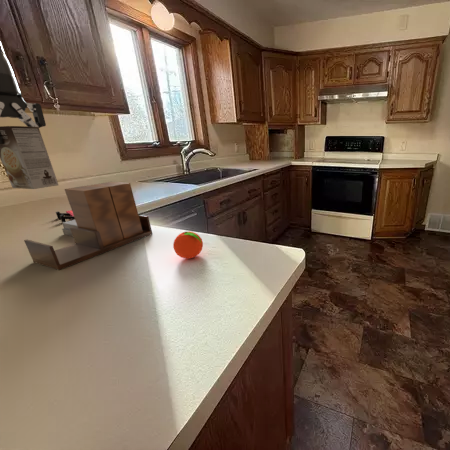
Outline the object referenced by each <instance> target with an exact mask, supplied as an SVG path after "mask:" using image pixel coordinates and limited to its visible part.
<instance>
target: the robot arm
mask: <svg viewBox="0 0 450 450" xmlns="http://www.w3.org/2000/svg"><path fill="white" fill-rule="evenodd" d="M27 108H28V110H29V111H30V112H32V116H33V118H32V117H31V116H30V115H29V114H28V113H27V112H26V110H27ZM0 118H10V119H18V121H20V122H21V123H23V124H24V126H27V127H39V129H40V128H43V127H46V126H47V123H46V120H45V116H44V112H43V108H42V105H41V104H40V103H38V102H37V103H36V102H35V103H29V102H26V101H25V100H24V98H23V97H22V92H21V90H20V88H19V84H18V81H17V78H16V77H15V72H14V70H13V68H12V66H11V64H10V61H9V59H8V58H7V55H6V52H5V50H4V47H3V44H2V42H1V41H0ZM0 144H4V143H3V140H2V138H1V135H0Z"/></svg>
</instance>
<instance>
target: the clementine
mask: <svg viewBox="0 0 450 450" xmlns="http://www.w3.org/2000/svg"><path fill="white" fill-rule="evenodd" d="M172 246H173V247H172V248H173V251H174V252H175V254H176V255H177V256H179V257H180V258H183V259H193V258H195V257H197V256H198V255H200V253H201V252H202V251H203V248H204V241H203V239H202V237H201V236H200V235H199V234H198V233H197V232H194V231H190V230H189V231H184V232H180V233H179V234H178V235H177V236H176V237H175V239H174V240H173V243H172Z"/></svg>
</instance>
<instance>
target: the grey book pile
mask: <svg viewBox="0 0 450 450" xmlns="http://www.w3.org/2000/svg"><path fill="white" fill-rule="evenodd" d="M61 224H62V227H63V228H61V230H62V233H63V235H65V236H69V237H73V235H72V232H71V230H70V228H71V227H78V226H77V223H76V221H75V219H70V220H68V221H66V222H61Z"/></svg>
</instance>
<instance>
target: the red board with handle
mask: <svg viewBox="0 0 450 450" xmlns="http://www.w3.org/2000/svg"><path fill="white" fill-rule="evenodd" d="M55 215H56V217H57V219H58V220H60V221H61V223H63V222H67V221H66V220H75V218H74V215H73V212H72V209H70V210H66V211H65V212H60V211H55Z"/></svg>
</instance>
